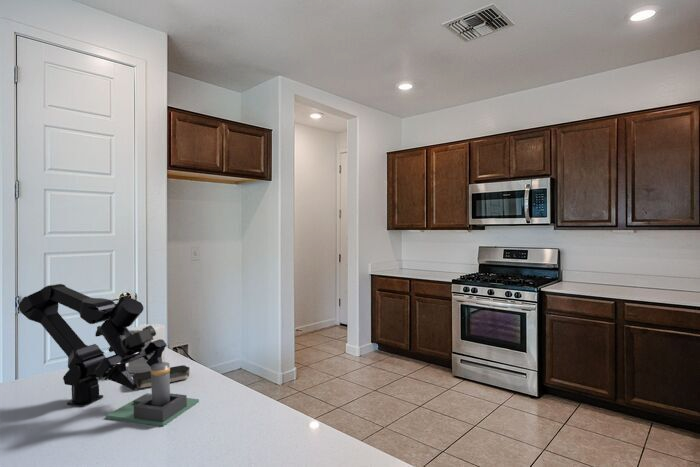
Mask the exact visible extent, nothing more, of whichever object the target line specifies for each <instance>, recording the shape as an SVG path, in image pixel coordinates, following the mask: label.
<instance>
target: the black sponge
mask: <svg viewBox="0 0 700 467" xmlns="http://www.w3.org/2000/svg"><path fill="white" fill-rule="evenodd" d="M189 376H190V367H189V366H187V365H186V364H185V365H175V366H170V383H172V382H173V383H174V382H177V381H181V380H186V379H188V378H189ZM131 378H132V379H133V381H134V382H135V384H136V386H137V389H144V388H148V387H150V388H151V371H148V372H142V373H133V374H132V375H131Z"/></svg>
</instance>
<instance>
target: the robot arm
mask: <svg viewBox="0 0 700 467" xmlns="http://www.w3.org/2000/svg"><path fill="white" fill-rule="evenodd" d="M59 305H62V306H65V307H67V308H68V309H70V310H74V311H75V312H77V313H79V318H80V319H82V320H83V321H85V322H86V323H88V324H89V325H95V324H98V323H101V325H98V326H96V331H95V334H94V335H95V337H101V336H103V338H104V340H105V341H106V342H107V344H108V346H109V347H108V348H107V349H108V352H109V353H113V352H114V355H110V356H106V355H105V352H104V351H103V350H102V349H101V348H100V347H99V345H98V344H97V343H93V344H90V345H88V344H85V342H84V341H83V340H82V339H81V338H80V337H79V335H78V334H77V333H76V332H75V331H74V330H73V328H72V327H71V326H70V325H69V323H68V322H67V321H66V320H65V319H64V317H63V316H62V315H61V314H60V313H59ZM18 309H19V311H20V313H21V314H22V315H23V316H24V317H25V318H26V319H28V320H30V321H33V322H35V323H39V324H40V325H41V326H42V327H43V329H44V330H45V331H46V332H47V333H48V335H50V337H51V338H52V339H53V340H54V342H55V343H56V344H57V345H58V347H60V349H61V350H62V352H64V354H65V355H66V356H67V358H68V359H67V369H68V371H67V372H65V373H64V375H63V376H62V377H63V378H62V379H63V383H64V385H66V386H71V400H69V401H66V405H70V406H77V407H86V406H88V405H90V404H92V403H94V402H96V401H98V400H101V399H102V398H104V395H103V394H100V384H99V380H102V379H104V381H112V382H114V383H117V384H119V385H121V386H124V387H126V388H127V389H130V390H132V391H136V390H137V389H138V387H137V386H136V384H135V382H134V381H133V377H132V375H130V373H129V371H128V370H127V367H126V364H128V363H129V362H131V361H134V360H137V359H139V358H142V357H143V358H144V359H145V360H148V361H147V362H146V363H147V364H148V365H149V366H150V367H151V366H152V365H153V364H156V363H161V362H162V352H163V351H164V350H165V351H166V347H167V343H166V341H165V342H164V340H161V339H159V340H156V341H153V342H150V344H149V345H148V346H147V347H146V348H145V349H144V350H142V347H144V346H145V345H146V344H145V342H147V341H149V340H153V336H155V335H156V332H155V329H154V328H153V327H152V326H147V327H146V328H143V331H140V332H137V333H135V332H131V333H130V331H129V329H128V327H131V326H132V325H133V324H134V322H135V321H136V319H138V317H139V316H141V314H142V313H143V311H144V305H143V303H142V302H140V301H138V300H137V299H135V298H131V297H130V296H129V295H123V296H121V297H119V300H118V302H117V303H115V302H114V301H113V300H112V299H108V298H102V297H99V298H98V297H90V296H88V295H86V294H83V293H82V292H78V291H76V290H74V289H72V288H70V287H67V286H66V285H65V284H62V283H58V284H57V283H56V284H51V285H49V284H48V285H46V286H44V287H42V288H41V289H40V290H38V291H35V292H33V293H31V294H29V295H27V296H24V297H22V299H21V300H20V302H19V303H18Z"/></svg>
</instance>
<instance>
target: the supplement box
mask: <svg viewBox="0 0 700 467" xmlns="http://www.w3.org/2000/svg"><path fill="white" fill-rule="evenodd" d="M147 326H152V327H153V328H154V329H155V332H156V335H155V336H153V340H149V341H147V342H145V344H146V345H145V346H144V347H142V350H144V349H145V348H146V347H147V346H148V345H149V344H150V342H153V341H156V340H159V339H161V340H164V342H165V343H166V331H165V330H166V329H165V328H166V327H165V323H164V324H163V323H161V324H158V323H157V324H156V323H154V324H153V323H151V324H149V323H148V324H147V323H146V324H144V323H143V324H142V323H141V324H139V325H137V326H134V327H131V328H129V329H128V330H129V331H130V333H131V332H135V333H137V332H140V331H143V328H146V327H147ZM166 358H167V357H166V349H165V350H164V351H163V352H162V362H167V359H166ZM147 361H148V360H145V359H144V358H143V357H142V358H139V359H137V360H134V361H131V362H129V363H127V364H128V365H127V366H128V373H129V374H137V373H142V372H148V371H151V367H150V366H149V365H148V364H147V363H146V362H147Z"/></svg>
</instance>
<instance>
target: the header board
mask: <svg viewBox="0 0 700 467" xmlns="http://www.w3.org/2000/svg"><path fill="white" fill-rule="evenodd" d="M199 402H200V399H198V398H191V397H187V394H180V393H179V394H178V393H171V392H170V402H169V403H168V404H166V405H165V406H163V407H158V406H152V393H148V392H147V393H145V394H142V395H141V396H139V397H137V398H135V399H133V400H132V401H129V402H128V403H126V404H124V405H122V406H120V407H118V408H116V409H114V411H111V412H109V413H107V414H106V415H105V419H107V420H108V419H109V420H114V421H115V420H116V421H121V422H122V421H124V422H129V423H136V424H137V423H138V424H142V425H143V424H144V425H151V426H157V427H159V426H160V427H165V426H166V425H167V423H168V424H169V423H171V422H172V421H173V419H174V418H175V419H176V418H178V417H179V416H181V415H183V414H184V413H185V412H186V410H187V411H188V410H190V409H191V408H192V407H194V406H195V405H197V404H198V403H199ZM196 403H197V404H196ZM184 411H185V412H184ZM183 412H184V413H183ZM180 414H181V415H180ZM177 416H178V417H177ZM175 419H174V420H175ZM170 421H171V422H170Z"/></svg>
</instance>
